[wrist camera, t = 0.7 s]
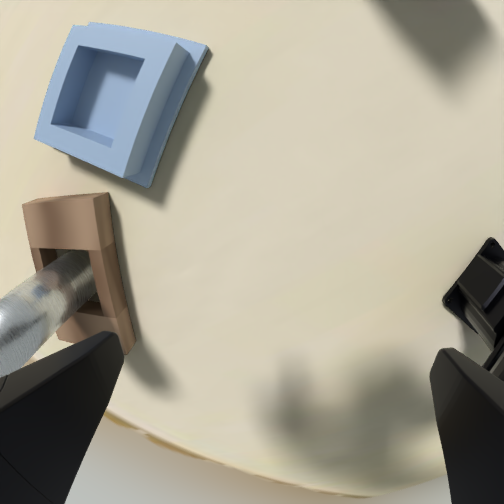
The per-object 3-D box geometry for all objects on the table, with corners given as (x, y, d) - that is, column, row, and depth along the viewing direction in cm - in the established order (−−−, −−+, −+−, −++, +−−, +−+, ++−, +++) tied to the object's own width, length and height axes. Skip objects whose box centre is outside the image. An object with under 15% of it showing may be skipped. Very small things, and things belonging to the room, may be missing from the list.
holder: (108, 192, 20) (93, 198, 18) (136, 341, 24) (126, 355, 23) (37, 198, 21) (22, 204, 19) (69, 328, 25) (58, 339, 23)
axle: (108, 266, 22) (7, 358, 11) (95, 302, 24) (11, 392, 12) (70, 238, 22) (-38, 310, 10) (60, 275, 23) (-30, 351, 12)
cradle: (208, 47, 15) (195, 33, 13) (150, 186, 19) (129, 195, 16) (93, 23, 15) (70, 14, 12) (50, 142, 19) (25, 146, 16)
